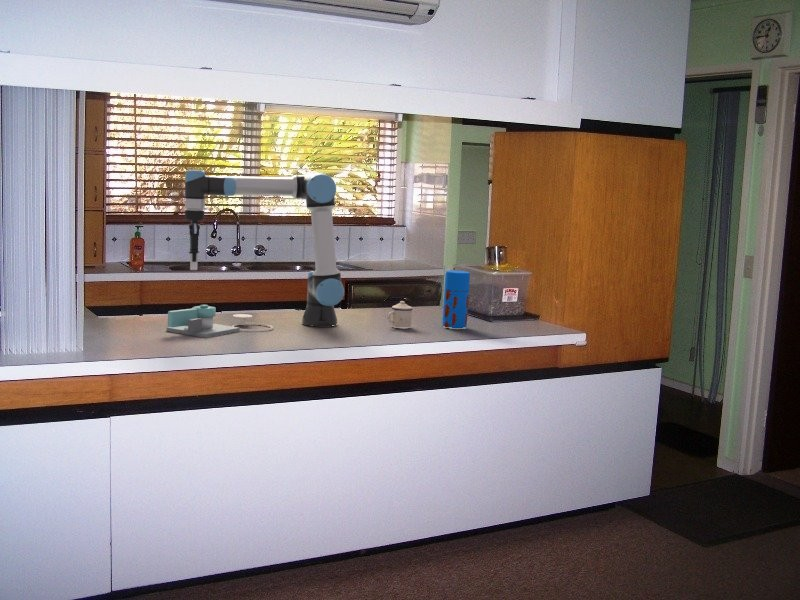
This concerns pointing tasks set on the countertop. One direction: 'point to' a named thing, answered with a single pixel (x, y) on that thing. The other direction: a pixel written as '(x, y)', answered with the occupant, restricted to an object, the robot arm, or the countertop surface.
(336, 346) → the countertop surface
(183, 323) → the domed saucepan
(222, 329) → the post board
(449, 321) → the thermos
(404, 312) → the teacup with lid
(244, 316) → the hand towel holder
